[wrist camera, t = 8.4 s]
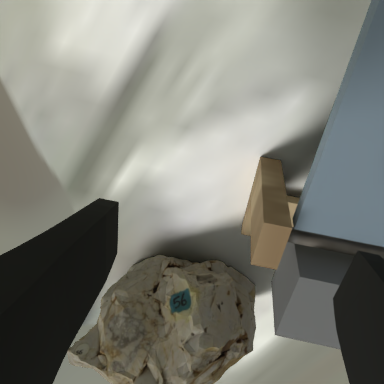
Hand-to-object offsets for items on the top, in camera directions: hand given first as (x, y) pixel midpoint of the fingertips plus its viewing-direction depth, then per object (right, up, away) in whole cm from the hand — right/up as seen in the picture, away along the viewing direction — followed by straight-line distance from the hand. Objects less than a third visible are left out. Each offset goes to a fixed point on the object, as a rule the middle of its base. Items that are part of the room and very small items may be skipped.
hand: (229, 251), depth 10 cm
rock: (-3, -5, +16) cm, 17 cm away
